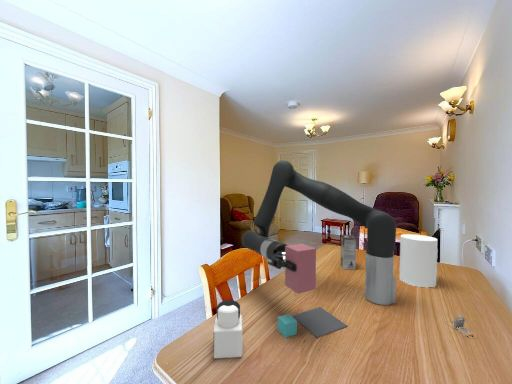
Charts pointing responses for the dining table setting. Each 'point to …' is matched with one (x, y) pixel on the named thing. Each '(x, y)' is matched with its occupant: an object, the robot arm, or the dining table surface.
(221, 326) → the medicine bottle
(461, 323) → the strap clip
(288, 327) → the block
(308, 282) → the tall pink pillar
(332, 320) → the mat
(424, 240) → the canister
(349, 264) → the coffee box
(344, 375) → the dining table surface
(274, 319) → the dining table surface
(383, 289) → the robot arm
